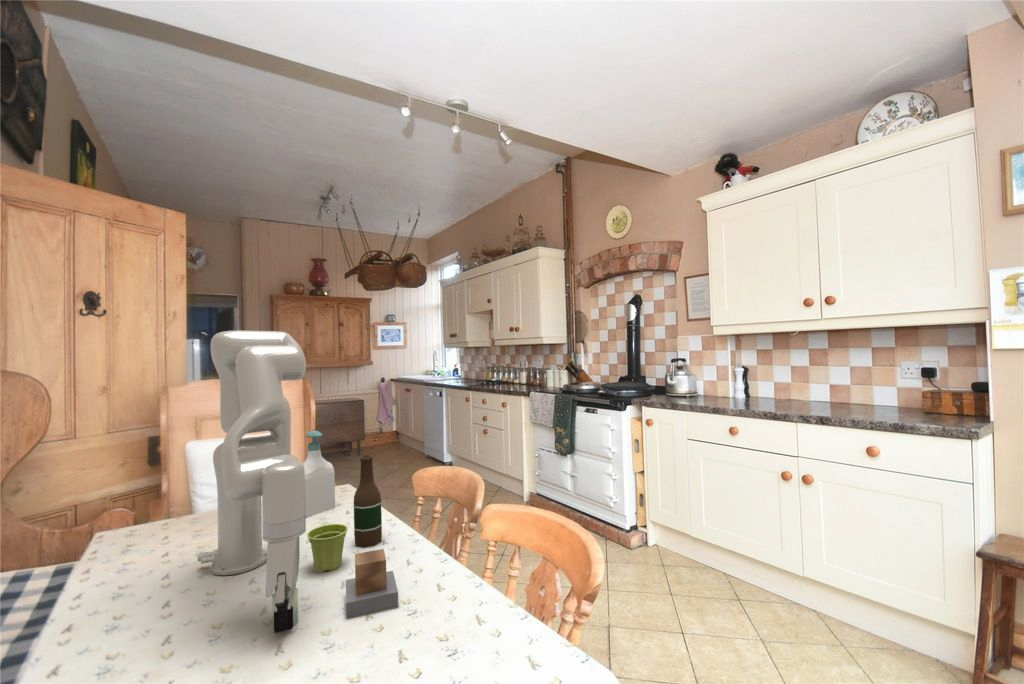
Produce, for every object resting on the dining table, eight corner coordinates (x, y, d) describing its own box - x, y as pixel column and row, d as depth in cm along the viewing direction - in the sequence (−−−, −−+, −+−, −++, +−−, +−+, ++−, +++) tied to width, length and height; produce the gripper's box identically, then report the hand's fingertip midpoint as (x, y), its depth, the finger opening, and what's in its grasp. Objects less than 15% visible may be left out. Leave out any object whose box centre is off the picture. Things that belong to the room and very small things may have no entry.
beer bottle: (377, 547, 120) (375, 458, 120) (349, 548, 120) (347, 459, 121) (386, 536, 127) (384, 452, 128) (359, 537, 128) (357, 453, 128)
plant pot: (356, 561, 112) (356, 526, 112) (326, 578, 103) (326, 541, 104) (329, 555, 116) (329, 521, 116) (298, 571, 107) (298, 535, 108)
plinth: (346, 618, 87) (346, 603, 87) (346, 593, 96) (345, 579, 96) (398, 606, 90) (398, 591, 91) (393, 584, 100) (392, 570, 100)
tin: (271, 633, 83) (270, 601, 83) (274, 620, 87) (274, 589, 87) (297, 627, 84) (296, 595, 85) (299, 615, 89) (298, 585, 89)
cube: (356, 595, 90) (355, 565, 90) (355, 582, 95) (354, 553, 95) (386, 589, 92) (386, 560, 92) (384, 576, 97) (383, 548, 98)
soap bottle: (309, 518, 144) (307, 434, 145) (294, 514, 148) (293, 432, 149) (338, 508, 153) (336, 429, 154) (323, 504, 158) (322, 427, 159)
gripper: (269, 515, 93) (270, 603, 92) (254, 547, 77) (255, 653, 76) (308, 510, 96) (310, 595, 95) (301, 539, 80) (303, 642, 79)
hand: (285, 620), depth 86 cm, fingers open, 5 cm apart
